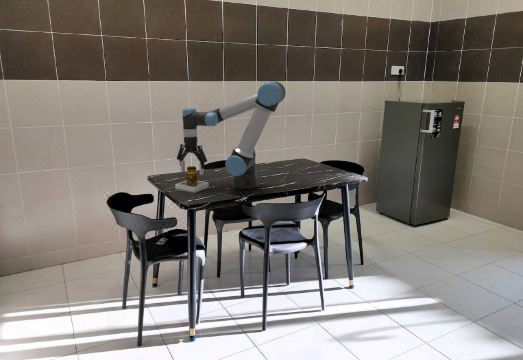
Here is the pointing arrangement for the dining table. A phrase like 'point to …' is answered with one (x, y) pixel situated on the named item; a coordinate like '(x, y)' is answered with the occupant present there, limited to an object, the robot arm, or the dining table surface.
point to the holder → (198, 188)
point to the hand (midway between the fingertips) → (192, 173)
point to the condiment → (191, 176)
